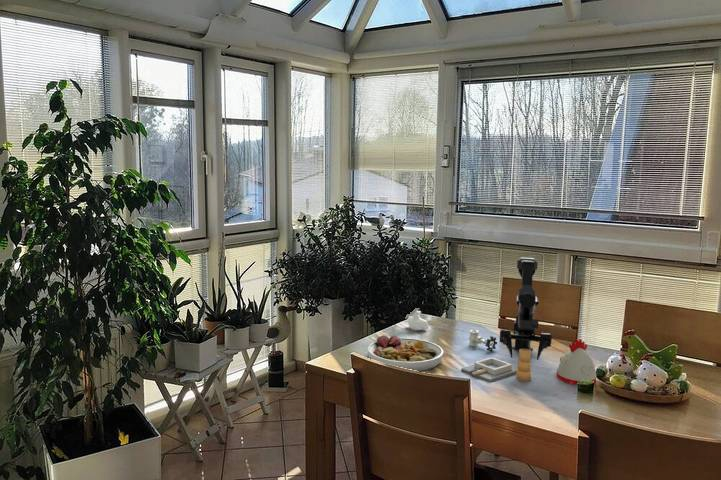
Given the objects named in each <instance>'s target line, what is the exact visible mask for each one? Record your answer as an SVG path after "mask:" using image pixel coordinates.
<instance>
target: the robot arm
mask: <svg viewBox="0 0 721 480" xmlns="http://www.w3.org/2000/svg"><path fill="white" fill-rule="evenodd" d="M516 269H518V272H517V273H518V274H519V276H520V278H521V279H520V280H521V283H520V288H519V289H518V295H516V305H518V314H517V316H516V318H515V321H513V331H512V330H511V329H501V330H500V331H499V342H500V343H502V344H503V345H505V346H506V347H507V348H506V349H507V350H508V353H509V355H510V358H513V350H516V351H519V350H520V349H529V350H531V351H533V350H534V348H533V347H531V343H532V342H538V349H537V355H536V361H538V360H539V359H540V356H541V355H542V352H543V351H544V350H545V349H548V347H549V348H550V347H551V346H552V340H553V339H552V338H553V336H552V334H551V333H548V332H547V333H546V332H540V335H536V330H538V329H539V319H535V310H536V307H537V306H538V305H539V304H540V302H539V298H538V296H536V289H534V288H533V276H534V275H535V273H536V270H537V271H538V261H537V260H536V259H535V258H534V257H521V256H520V259H517V260H516ZM511 331H512V332H511ZM512 340H514V346H513V343H512Z"/></svg>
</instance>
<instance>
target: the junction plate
mask: <svg viewBox="0 0 721 480" xmlns="http://www.w3.org/2000/svg"><path fill="white" fill-rule="evenodd" d="M517 368H518V365H515V364H513V363H510V362H508V361H505V360H502V359H499V358H497V357H496V358H495V357H492V356H491V357H488V358H483V359H481V360H476V361H474V364H472V365H468V366H465V367H464V366H463V367H462V368H461V369H460V370H461V372H464V373H466V374H468V375H471V376H472V377H473V376H474V377H476V378H479V379H481V380H483V381H486V382H489V383H492V382H495V381H497V380H500V379H504V378H507V377H510V376H513V375H516V372H517Z"/></svg>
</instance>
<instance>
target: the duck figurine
mask: <svg viewBox="0 0 721 480" xmlns="http://www.w3.org/2000/svg"><path fill="white" fill-rule="evenodd" d="M421 314H422V311H421V310H419V309H416V310H415V311H414V312H413V313H411V315H408V316H407V318H406V319H407V320H406V321H407V323H408V327H409V328H410V329H411V330H413V331H427V330H428V329H429V323H428V321H427V320H426V319H423V318H421V316H420V315H421Z"/></svg>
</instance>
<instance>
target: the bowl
mask: <svg viewBox="0 0 721 480" xmlns="http://www.w3.org/2000/svg"><path fill="white" fill-rule="evenodd" d="M367 354H368V358H369V359H370V358H371V359H374V360H377V361H380V362H383V363H386V364H391V365H395V366H398V367H403V368H407V369H412V370H417V371H416V372H422V371H427V370H430V369H433V368H435V367H436V366H438V365H439V364H440V363H441V361H442V360H443V357H444V350H443V348H442V347H441V346H440V345H438V344H436V343H434V342H430V341H428V340H424V339H418V338H413V337H412V338H410V337H398V336H397V335H392V336H390V337H388V336H387V335H383V334H382V335H380V336H379V337H377V338H376V341H374V342H372V343H370V344H369V345H368V346H367ZM371 359H370V360H371Z"/></svg>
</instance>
